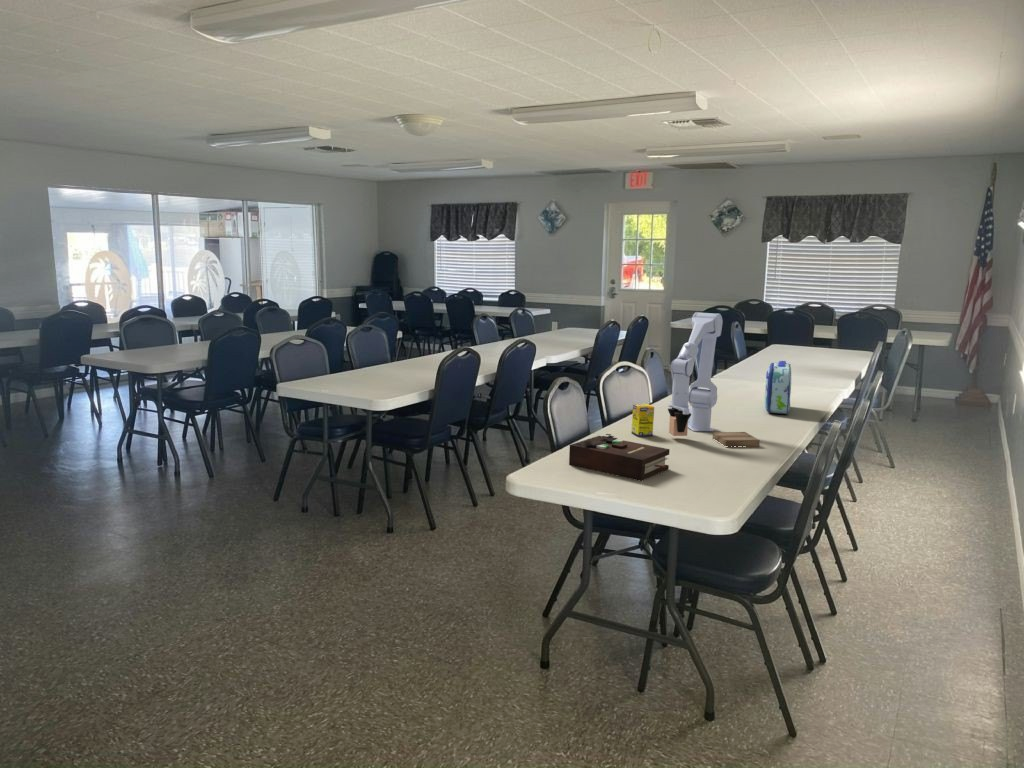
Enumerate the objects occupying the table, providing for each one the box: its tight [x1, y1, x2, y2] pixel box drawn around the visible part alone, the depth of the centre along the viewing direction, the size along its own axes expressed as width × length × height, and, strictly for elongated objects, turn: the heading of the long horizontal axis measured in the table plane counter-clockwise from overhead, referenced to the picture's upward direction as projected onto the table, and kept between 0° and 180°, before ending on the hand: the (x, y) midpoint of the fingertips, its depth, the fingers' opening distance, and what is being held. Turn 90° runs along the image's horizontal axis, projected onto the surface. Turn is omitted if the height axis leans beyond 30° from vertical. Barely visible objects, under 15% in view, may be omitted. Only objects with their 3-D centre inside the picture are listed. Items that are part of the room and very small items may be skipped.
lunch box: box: [764, 360, 792, 415], centre depth 324 cm, size 26×11×21 cm, turn 160°
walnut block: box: [712, 431, 760, 448], centre depth 266 cm, size 12×12×3 cm
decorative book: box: [568, 433, 670, 482], centre depth 232 cm, size 19×8×30 cm
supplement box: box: [631, 403, 655, 438], centre depth 274 cm, size 6×6×11 cm
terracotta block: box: [668, 415, 689, 437], centre depth 269 cm, size 5×5×6 cm
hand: (678, 430), depth 269 cm, fingers closed on terracotta block, 5 cm apart
